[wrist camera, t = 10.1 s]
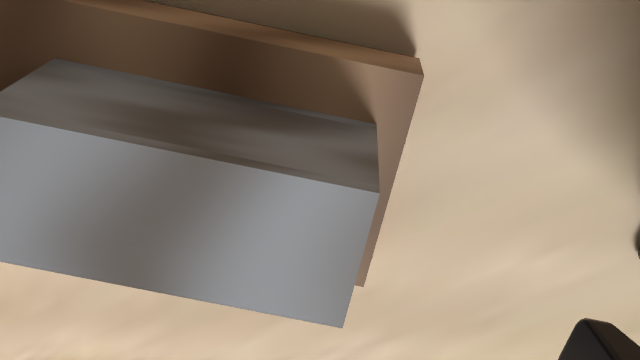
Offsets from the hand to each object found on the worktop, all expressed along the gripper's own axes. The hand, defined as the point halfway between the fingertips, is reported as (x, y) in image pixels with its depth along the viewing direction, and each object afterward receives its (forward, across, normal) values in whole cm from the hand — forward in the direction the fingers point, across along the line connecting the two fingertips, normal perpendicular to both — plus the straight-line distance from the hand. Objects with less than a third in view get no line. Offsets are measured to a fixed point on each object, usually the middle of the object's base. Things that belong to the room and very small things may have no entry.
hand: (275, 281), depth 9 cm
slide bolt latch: (+12, +9, +4) cm, 15 cm away
